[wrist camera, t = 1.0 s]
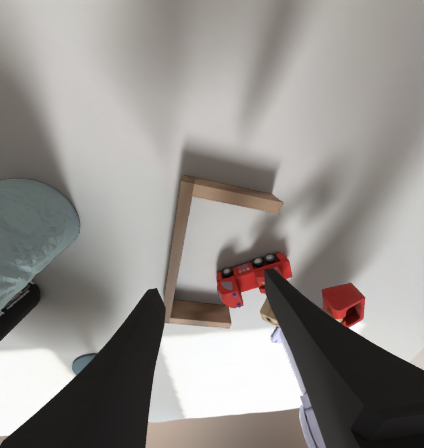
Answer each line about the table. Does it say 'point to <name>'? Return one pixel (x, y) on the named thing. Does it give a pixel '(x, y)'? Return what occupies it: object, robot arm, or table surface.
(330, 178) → the table surface
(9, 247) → the grey-green ceramic cup
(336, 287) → the toy fire truck
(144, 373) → the robot arm
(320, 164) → the table surface
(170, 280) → the garage bay
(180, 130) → the table surface
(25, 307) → the beverage can
